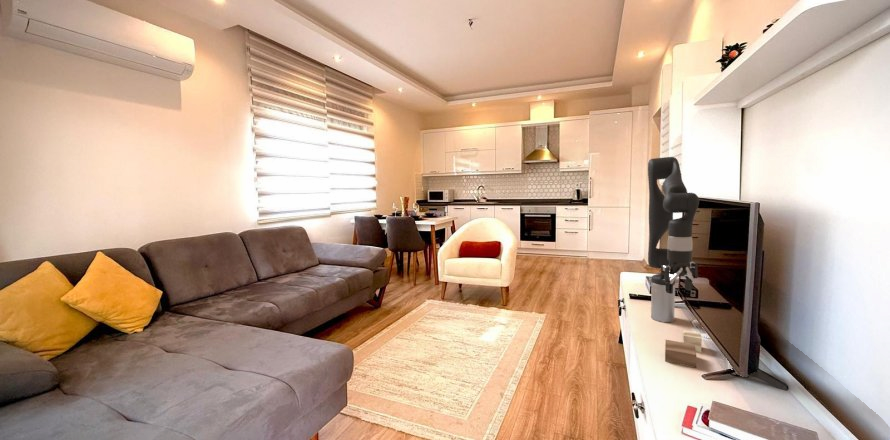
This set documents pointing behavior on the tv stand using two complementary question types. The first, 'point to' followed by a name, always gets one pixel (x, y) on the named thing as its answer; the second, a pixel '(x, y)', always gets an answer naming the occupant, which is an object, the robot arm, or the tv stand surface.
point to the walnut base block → (680, 353)
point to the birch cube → (693, 339)
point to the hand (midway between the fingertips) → (678, 291)
